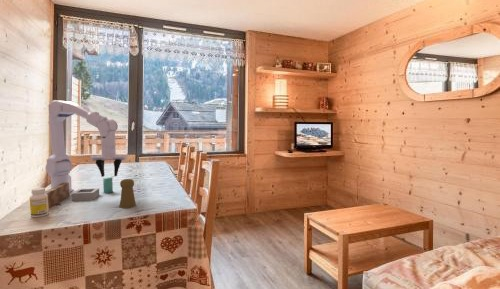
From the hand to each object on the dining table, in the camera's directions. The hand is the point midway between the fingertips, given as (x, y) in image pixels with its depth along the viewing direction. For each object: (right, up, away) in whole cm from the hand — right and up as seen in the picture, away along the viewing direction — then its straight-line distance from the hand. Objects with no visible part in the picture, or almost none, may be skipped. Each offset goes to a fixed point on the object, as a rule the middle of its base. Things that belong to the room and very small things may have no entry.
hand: (109, 176), depth 133 cm
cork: (+15, -11, -15) cm, 23 cm away
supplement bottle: (-13, -12, -26) cm, 31 cm away
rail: (-19, -10, -8) cm, 23 cm away
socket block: (-10, -10, -1) cm, 14 cm away
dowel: (-5, -9, +9) cm, 13 cm away
